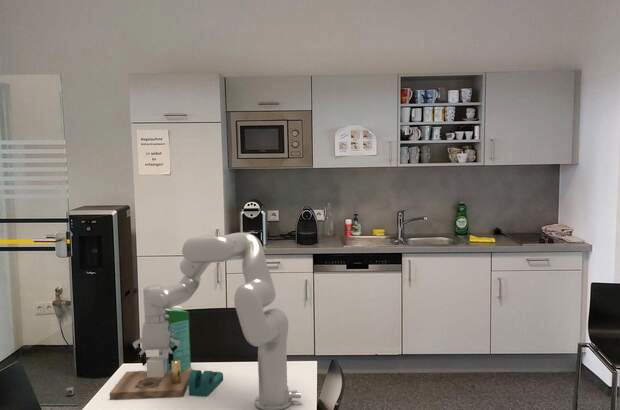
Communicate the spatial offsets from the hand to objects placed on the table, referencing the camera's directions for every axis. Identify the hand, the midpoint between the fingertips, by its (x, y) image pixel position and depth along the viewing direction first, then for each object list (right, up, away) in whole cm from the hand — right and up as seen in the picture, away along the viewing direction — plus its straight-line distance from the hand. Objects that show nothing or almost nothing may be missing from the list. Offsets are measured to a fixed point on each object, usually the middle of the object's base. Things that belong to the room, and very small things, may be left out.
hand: (157, 363), depth 204 cm
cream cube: (0, -4, 0) cm, 4 cm away
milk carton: (+3, -6, +14) cm, 15 cm away
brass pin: (+9, -4, -8) cm, 13 cm away
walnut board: (0, -7, -5) cm, 9 cm away
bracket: (+20, -7, -5) cm, 22 cm away
